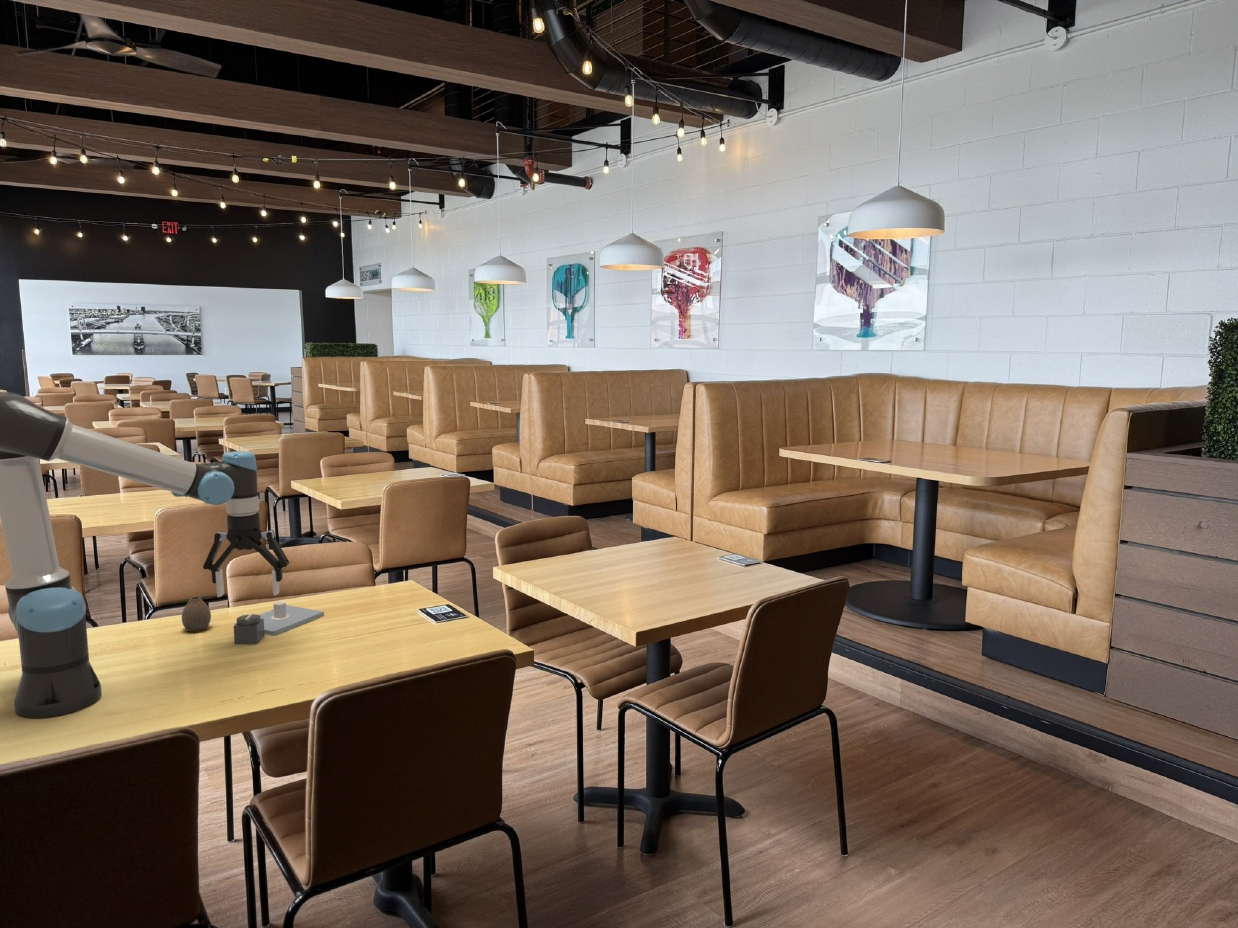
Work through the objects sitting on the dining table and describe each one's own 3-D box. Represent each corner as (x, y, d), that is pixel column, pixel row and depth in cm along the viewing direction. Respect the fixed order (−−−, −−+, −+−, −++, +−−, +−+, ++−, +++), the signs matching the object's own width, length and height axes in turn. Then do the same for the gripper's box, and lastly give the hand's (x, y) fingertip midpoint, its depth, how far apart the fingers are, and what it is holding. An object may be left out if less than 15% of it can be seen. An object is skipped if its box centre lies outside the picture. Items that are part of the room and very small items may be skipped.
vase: (203, 634, 214) (201, 601, 212) (177, 633, 214) (174, 601, 213) (216, 625, 221) (214, 593, 219) (191, 624, 221) (189, 593, 219)
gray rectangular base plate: (273, 635, 213) (272, 616, 212) (234, 627, 219) (233, 609, 218) (324, 615, 229) (323, 597, 229) (286, 608, 235) (285, 591, 234)
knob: (257, 643, 207) (256, 619, 206) (234, 644, 207) (233, 620, 206) (264, 636, 213) (263, 612, 212) (242, 636, 212) (240, 613, 211)
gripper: (298, 508, 210) (303, 588, 213) (196, 510, 207) (203, 591, 211) (290, 515, 203) (295, 597, 206) (184, 517, 200) (191, 600, 203)
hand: (248, 594), depth 208 cm, fingers open, 13 cm apart
